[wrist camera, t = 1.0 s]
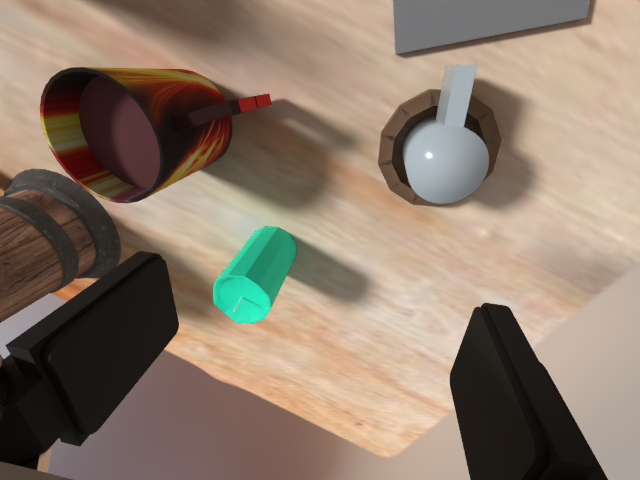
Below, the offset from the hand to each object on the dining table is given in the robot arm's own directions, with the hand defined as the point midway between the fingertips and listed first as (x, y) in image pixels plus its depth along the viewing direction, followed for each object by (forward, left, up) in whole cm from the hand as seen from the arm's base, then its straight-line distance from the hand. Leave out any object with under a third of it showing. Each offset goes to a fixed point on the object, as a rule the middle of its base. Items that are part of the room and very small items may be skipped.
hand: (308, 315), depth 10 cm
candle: (+13, -10, -26) cm, 30 cm away
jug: (-2, +7, -25) cm, 26 cm away
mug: (-3, -17, -26) cm, 31 cm away
